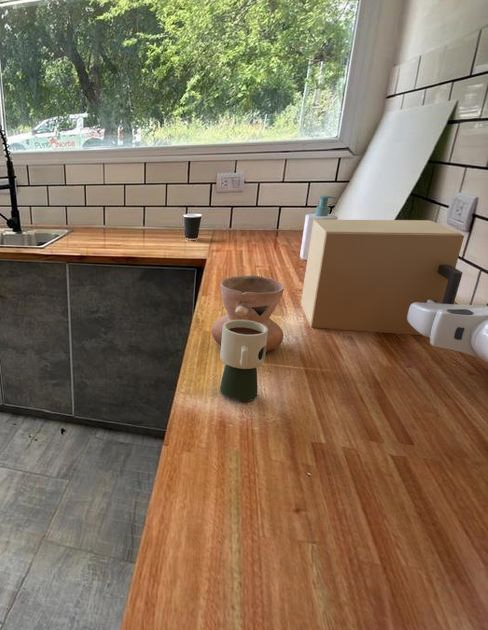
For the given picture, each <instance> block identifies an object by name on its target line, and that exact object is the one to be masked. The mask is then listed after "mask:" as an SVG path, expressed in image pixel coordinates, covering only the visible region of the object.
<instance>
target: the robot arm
mask: <svg viewBox="0 0 488 630" xmlns="http://www.w3.org/2000/svg"><path fill="white" fill-rule="evenodd" d="M407 320H408V322H409V323H410V325H411V326H412V327H413V328H414V329H416V330H417V331H418V332H419V333H420V334H422V335H424V336H423V337H426V338H429V344H430V345H431V346H433V347H435V348H439V349H444V350H449V351H453V352H458V353H461V354H466V355H469V356H471V357H475V358H477V359H481V360H482V361H483V362H485V363H487V364H488V303H487V304H486V305H475V304H457V303H456V304H455V303H454V304H440V302H439V301H437V300H427V303H419V302H415V303H412V304H411V305H410V308H409V311H408V316H407Z"/></svg>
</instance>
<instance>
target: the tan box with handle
mask: <svg viewBox="0 0 488 630" xmlns="http://www.w3.org/2000/svg"><path fill="white" fill-rule="evenodd" d="M464 239H465V235H464V234H461V235H450V234H385V233H326V236H325V242H324V248H323V254H322V261H321V267H320V273H319V279H318V285H317V291H316V297H315V303H314V309H313V316H312V322H311V326H310V327H311V328H315V329H327V330H340V331H354V332H355V331H356V332H369V333H380V334H381V333H382V334H395V335H408V336H421V337H425V336H424V335H422V334H420V333H419V332H418V331H417V330H416V329H414V328H413V327H412V326H411V325H410V323H409V322H408V320H407V316H408V311H409V308H410V305H411V304H412V303H415V302H419V303H427V300H437V301H439V302H440V304H455V301H456V298H457V295H458V291H459V287H460V285H461V284H460V283H461V281H462V278H463V273H464V272H463V271H461V270H459V269H457V268H456V267H457V265H458V260H459V256H460V254H461V253H460V252H461V249H462V245H463V242H464Z"/></svg>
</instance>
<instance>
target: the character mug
mask: <svg viewBox="0 0 488 630" xmlns="http://www.w3.org/2000/svg"><path fill="white" fill-rule="evenodd" d="M267 336H268V328H267V327H266V326H265V325H263V324H261V323H258V322H254V321H249V320H232V321H228V322H226V323H224V325H223V329H222V340H221V345H220V353H219V358H220V360H221V362H222V363H223V364H225V365H224V368H223V373H222V376H221V381H220V386H219V392H220V393H221V394H222V395H223V396H225V397H228V398H230V399H234V400H237V401H245V402H250V401H254V400H255V399H256V398H257V397H258V389H259V388H258V387H259V386H258V369H257V368H259V367H262V365H264V363H265V360H266V353H267V352H266V344H267Z"/></svg>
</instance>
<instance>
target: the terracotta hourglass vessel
mask: <svg viewBox="0 0 488 630" xmlns="http://www.w3.org/2000/svg"><path fill="white" fill-rule="evenodd" d="M284 290H285V286H284V284H283V283H281V282H280V281H278V280H276V279H274V278H271V277H264V276H261V275H253V274H252V275H244V274H243V275H233V276H229V277H225V278H223V279H222V280H221V281H220V294H221V298H222V299H221V300H222V302H223V305H224V307H225V311H226V313H227V314H225V315H223V316H221V317H219V318H218V319H216V320H215V321H214V322H213V324H212V326H211V328H210V332H211V335H212V338H213V339H214V341H215V342H216V343H217V344H218V345H220V346H221V340H222V329H223V325H224V323H226V322H228V321H232V320H249V321H254V322H258V323H261V324H263V325H265V326H266V327H267V328H268V336H267V344H266V353H268V352H271V351H273V350H275V349H277V348H278V347H279V346H280V345H281V344H282V343H283V340H284V332H283V329H282V328H281V326H280V325H279V324H278V323H276V321H274V320H272V319H271V318H270V317H271V316H272V314H273V313H274V312H275V310H276V308H277V306H278V305H279V302H280V301H281V299H282V296H283V294H284Z"/></svg>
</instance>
